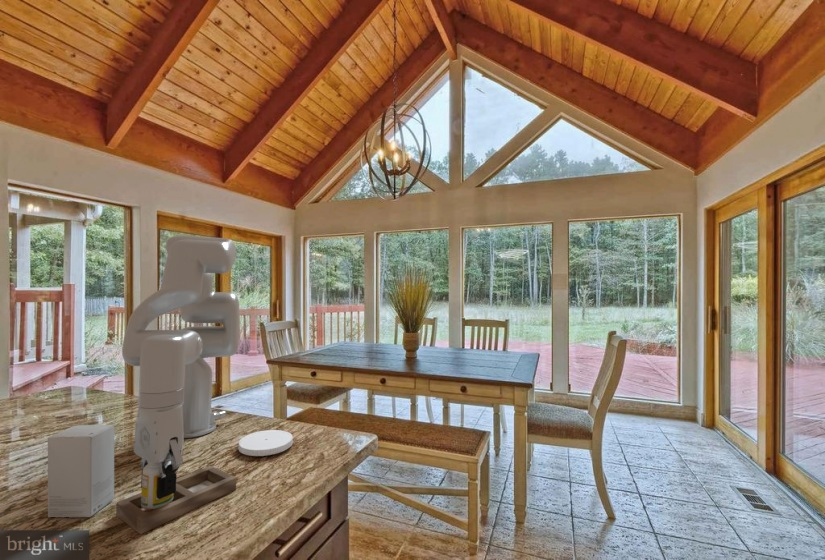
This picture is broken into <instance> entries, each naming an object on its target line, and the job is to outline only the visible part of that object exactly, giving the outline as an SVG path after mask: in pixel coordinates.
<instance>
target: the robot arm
mask: <svg viewBox="0 0 825 560" xmlns="http://www.w3.org/2000/svg"><path fill="white" fill-rule="evenodd" d="M165 249H166V254H167V255H166V260H165V265H164V270H163V274H162V279H161V284H160V287H159V288H160V289H158V290H157V291H155V292H154V293H152V294H150V296H149V295H148V297H147V298H145V299H144V300H143V301H141V303H140V304H139V305H138V306H137V307H136V308H135V309H134V310H133V312H132V313H131V315H130V317H129V319H128V323H127V325H126V329H125V333H124V337H123V342H122V348H121V354H122V359H123V360H124V362H125V363H126V364H127V365H129V366H132V367H139V382H138V383H139V385H138V386H139V387H138V388H139V389H138V404H137V405H138V406H137V408H138V410H137V414H136V419H135V428H134V429H135V430H134V439H133V453H134V455H135V454H136V455H137V456H138V457H140V458H141V462H140V466H141V472H142V471H143V468H144V467H145V466H146V465H147V464H148V463H147V461H149V462H151V463H153V464H159V473H160V477H158V478H157V498H158V499H161V498H163V497H166V496H168V495H170V494H173V493H175V491H176V479H177V474H178V471H179V469H180V466H181V465H182V464H183V463H184V459H183V456H182V454H183V449H184V439H188V438H196V437H201V436H205V435H207V434H209V433H212V432H213V431H215V430H216V429H217V423H216V421H217V419H221V418H222V419H223V418H225V417H226V416H227V413H226V412H227V411H225V410H223V411H212V393H213V370H212V368H211V366H210V364H209V363H208V362H207V361H206V360H205V359H206V358H225V357H232V356H234V355H236V353H237V352H238V350H239V342H240V302H239V299H238V297H237V295H236V294H235V293H232V292H226V291H220V292H219V291H214V289H213V288H214V287H213V286H214V285H213V282H214V281H213V280H214V276H213V274H228V273H229V272H230V271H231V270H232V267H233V265H234V264H235V260H236V255H237V249H236V245H235V242H234V241H233V240H232V239H230V238H225V237H224V238H222V237H213V236H212V237H211V236H198V235H174V236H172V237H169V238H168V239H167V240H166V244H165ZM178 309H180V317H181V320H183V322H185V323H189V324H221V326H219V325H218V326H217V325H216V326H209V325H207V326H206V325H204V326H203V325H199V326H195V325H194V326H186V327H183V328H181V329H151V330H150V329H147V327H148V326H149V325H150V324H151V323H152V322H153V321H154V320H155V319H157V318H158V317H160V316H163V315H165V314H167V313H170V312H173V311H176V310H178ZM146 329H147V330H146ZM169 454H170V456H171V457H169V458H166V456H167V455H169ZM165 458H166V459H165ZM169 461H171V464H170V465H168V466H167V467H166V468H165V464H164V463H166V462H169ZM140 485H141V486H140V488H141V489H142V477H141V482H140Z"/></svg>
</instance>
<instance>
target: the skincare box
mask: <svg viewBox="0 0 825 560" xmlns="http://www.w3.org/2000/svg"><path fill="white" fill-rule="evenodd" d="M114 499H115V424H89V425H88V424H85V425H84V424H80V425H78V424H77V425H72V426H70V427H68V428H66V429H64V430H61V431H59V432H57V433H55V434H52V435H50V436H49V437H47V518H48V517H69V518H91V517H92V516H94V515H96V514H97V513H99V512H100V511H101V510H102V509H104V508H105V507H106V506H107V505H109V504H110V503H112V501H114Z"/></svg>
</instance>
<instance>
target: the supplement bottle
mask: <svg viewBox="0 0 825 560" xmlns="http://www.w3.org/2000/svg"><path fill="white" fill-rule="evenodd" d="M169 457H171V456H170V454H169V455H167V456H166V458H169ZM166 458H165V459H166ZM147 463H148V464H147V465H146V466H145V467H144V468H142V469H143V471H142V470H141V478H142V488H141V492H140V493H141V506H142V508H144V509H157V508H160V507H162V506H164V505H167V504H169V503H170V502H171V501H172V500H173V497H174V493H173V494H170V495H168V496H166V497H163V498H161V499H158V498H157V478H158V477H160V473H159V464H153V463H151V462H149V461H147ZM164 464H165V468H166V467H167V466H168V465H170V464H171V461H169V462H166V463H164Z"/></svg>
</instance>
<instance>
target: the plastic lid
mask: <svg viewBox="0 0 825 560" xmlns="http://www.w3.org/2000/svg"><path fill="white" fill-rule="evenodd" d="M293 439H294V437H293V434H292V433H290V432H288V431H286V430H280V429H279V430H278V429H268V430H267V429H266V430H260V431H255V432H252V433H249V434H246V435H245V436H243V437H242V438H240V440H239V441H238V447H237V449H238V451H239V453H241V454H243V455H244V456H250V457H252V456H253V457H264V456H265V457H266V456H271V455H276V454H279V453H283V452H285V451H287V450H288V449H290V448H291V447H292V446H293V443H294V442H293V441H294V440H293Z"/></svg>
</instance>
